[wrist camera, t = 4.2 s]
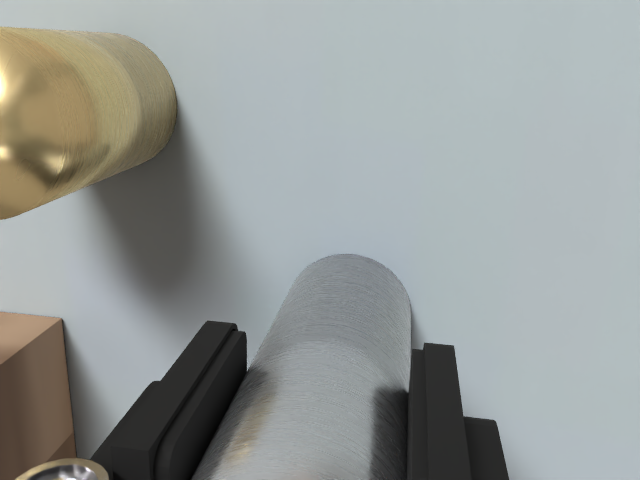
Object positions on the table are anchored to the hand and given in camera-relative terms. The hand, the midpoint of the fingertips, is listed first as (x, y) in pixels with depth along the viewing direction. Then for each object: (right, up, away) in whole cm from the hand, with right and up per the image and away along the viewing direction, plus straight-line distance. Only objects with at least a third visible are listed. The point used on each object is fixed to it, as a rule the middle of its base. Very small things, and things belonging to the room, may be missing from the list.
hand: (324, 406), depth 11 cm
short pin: (-5, +6, +3) cm, 9 cm away
